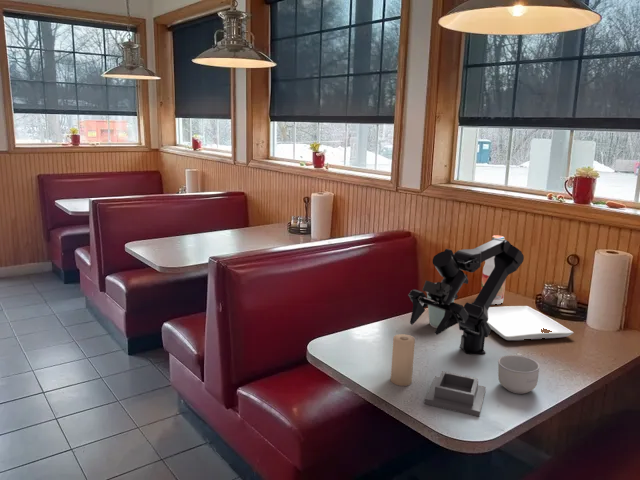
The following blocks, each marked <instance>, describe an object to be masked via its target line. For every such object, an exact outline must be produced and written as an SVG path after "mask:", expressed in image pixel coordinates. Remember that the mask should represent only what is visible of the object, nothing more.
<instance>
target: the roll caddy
mask: <svg viewBox="0 0 640 480" xmlns="http://www.w3.org/2000/svg"><path fill="white" fill-rule="evenodd" d="M479 380H480V379H479V378H478V377H472V376H468V375H464V374H458V373H454V372H449V371H443V370H442V371H441V372H440V375H439V376H437V375H436V376H435V377H434V379H433V380H432V382H431V385H430V386H429V389H428V392H427V393H426V395H425V398H424V405H429V406H432V407H436V408H440V409H444V410H448V411H454V412H458V413H461V414H466V415H470V416H473V417H474V416H475V417H478V418H479V417H480V416H481V412H482V408H483V403H484V401H485V400H484V399H485V395H486V390H487V389H486V388H487V387H486V386H483V385H479Z"/></svg>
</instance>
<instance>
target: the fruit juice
mask: <svg viewBox="0 0 640 480" xmlns="http://www.w3.org/2000/svg"><path fill="white" fill-rule="evenodd" d="M493 238H500V239H504V240H506V239H505V236H502V235H492V237H491V240H492V239H493ZM494 258H495V256H493V257H491V258H489V259H487V260H485V261H484V262H485V263H484V264H483V265H484V266H483V268H482V276H481V287H480V290H481V289H482V288H483V286H484V284H485V283H486V281H487V279H488V277H489V276H490V274H491V272H492V271H493V269H494V267H495V264H494ZM506 281H507V278H506V279H505V281H504V283H503V285H502V286H501V288H500V290H499V291H498V293H497V295H496V297H495V298H494V300H493V302H492V303H491V305H495V304H497V305H501V303H502V304H503V302H504V299H505V298H504V297H505V290H506V283H507V282H506Z"/></svg>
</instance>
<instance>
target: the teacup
mask: <svg viewBox="0 0 640 480" xmlns="http://www.w3.org/2000/svg"><path fill="white" fill-rule="evenodd" d="M497 363H498V368H497V369H498V370H497V371H498V372H497V374H498V382H499V383H500V384H501V386H502V387H503V388H504V389H506V390H507V391H508V392H511V393H514V394H517V395H518V394H520V395H521V394H523V395H524V394H527V393H529V392H531V391H533V390H534V389H535V388H536V387H537V385H538V382H539V381H538V380H539V372H540V367H541V366H540V364H539V362H538V361H536V359H535V360H534V359H532V358H530V357H527V356H524V355H523V354H522V353H519V352H518V353H516V354H510V355H504V356H500V358H499V359H498V361H497Z"/></svg>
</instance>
